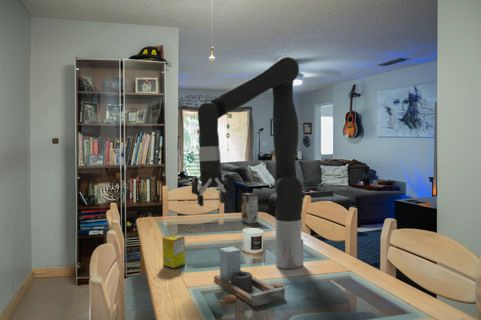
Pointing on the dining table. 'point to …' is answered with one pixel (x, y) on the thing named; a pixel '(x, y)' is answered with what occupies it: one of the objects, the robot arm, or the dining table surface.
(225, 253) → the gray block
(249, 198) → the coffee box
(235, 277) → the rubber ring
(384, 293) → the dining table surface
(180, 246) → the supplement box
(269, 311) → the dining table surface
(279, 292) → the guide channel
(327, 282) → the dining table surface
